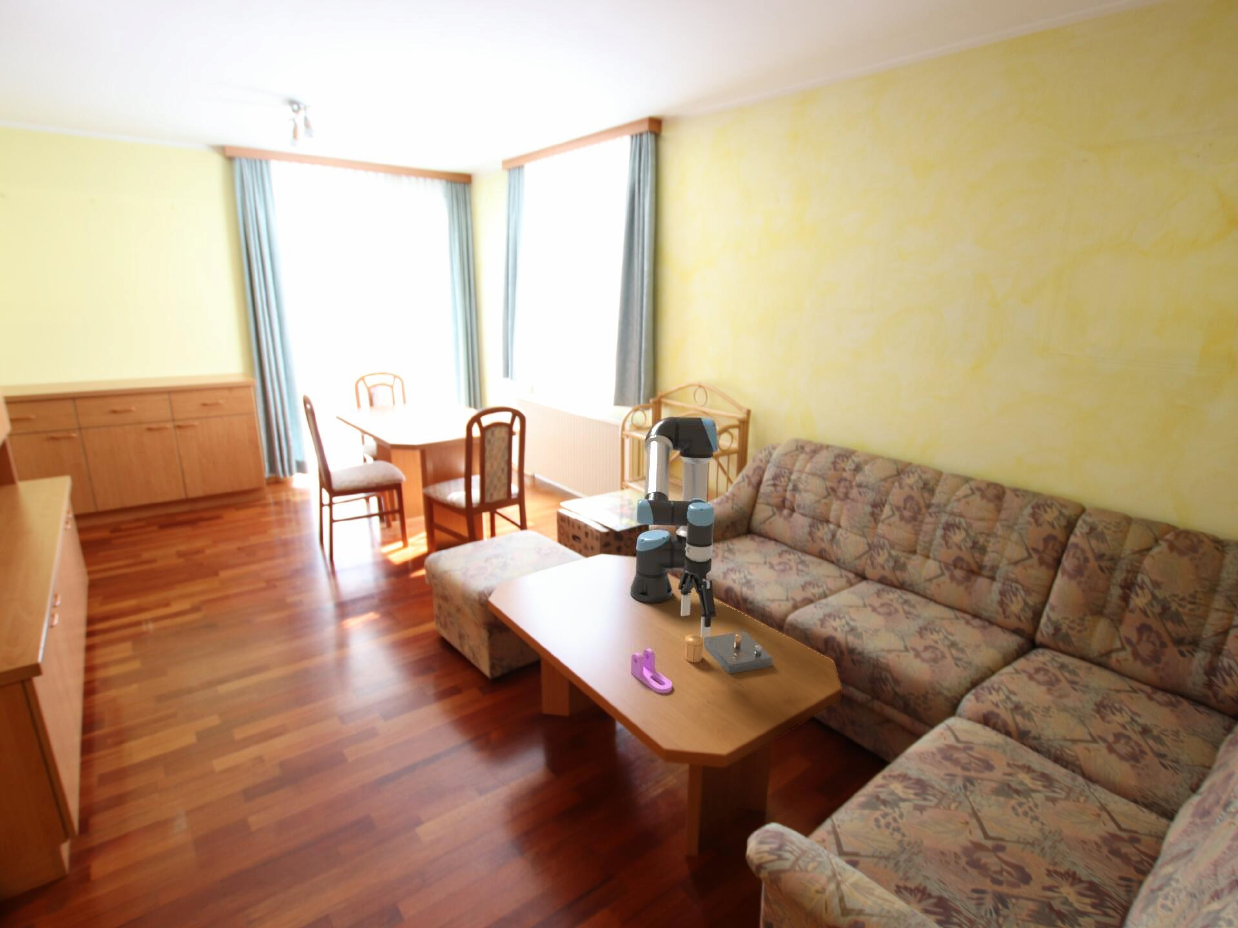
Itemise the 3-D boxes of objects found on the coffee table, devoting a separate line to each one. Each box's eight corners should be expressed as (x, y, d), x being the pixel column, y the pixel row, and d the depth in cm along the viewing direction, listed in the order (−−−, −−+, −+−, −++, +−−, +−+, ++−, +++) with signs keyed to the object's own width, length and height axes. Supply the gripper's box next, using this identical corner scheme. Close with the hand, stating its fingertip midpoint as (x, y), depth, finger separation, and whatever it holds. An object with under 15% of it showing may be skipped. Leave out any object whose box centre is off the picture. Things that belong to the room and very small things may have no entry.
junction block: (703, 646, 199) (705, 625, 198) (744, 639, 204) (745, 619, 202) (728, 673, 185) (730, 651, 183) (771, 666, 189) (773, 644, 188)
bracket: (631, 673, 184) (631, 651, 182) (646, 667, 187) (647, 646, 186) (660, 695, 174) (661, 672, 172) (676, 689, 177) (677, 666, 175)
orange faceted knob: (681, 654, 194) (682, 635, 193) (697, 651, 196) (698, 633, 195) (688, 663, 190) (689, 644, 188) (704, 660, 191) (705, 641, 190)
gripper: (669, 543, 195) (666, 608, 200) (706, 574, 173) (702, 647, 177) (691, 541, 198) (688, 605, 203) (731, 571, 175) (726, 643, 180)
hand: (694, 625), depth 190 cm, fingers open, 13 cm apart
